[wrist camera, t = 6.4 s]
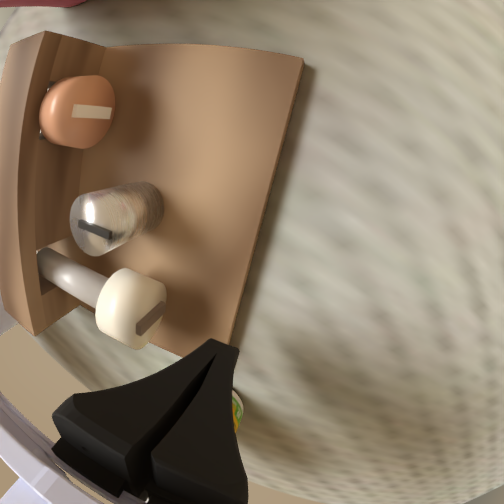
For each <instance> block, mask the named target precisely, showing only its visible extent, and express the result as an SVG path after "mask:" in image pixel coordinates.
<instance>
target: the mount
mask: <svg viewBox="0 0 504 504" xmlns="http://www.w3.org/2000/svg"><path fill="white" fill-rule="evenodd" d="M304 64H305V63H304V59H303V58H300V57H295V56H290V55H285V54H280V53H274V52H268V51H262V50H255V49H247V48H239V47H229V46H217V45H201V44H143V45H127V46H116V47H103V46H100V45H97V44H93V43H90V42H87V41H83V40H80V39H76V38H73V37H69V36H65V35H61V34H57V33H53V32H49V31H43V32H40V33H38V34H35V35H32V36H30V37H27V38H25V39H23V40H20V41H18V42H16V43H13V44H11V45H10V49H9V52H8V55H7V59H6V62H5V66H4V70H3V74H2V78H1V82H0V293H1V297H2V302H3V306H4V310H5V311H6V312H8V313H9V314H10V315H11V316H12V317H13V318H14V319H15V320H16V321H17V322H18V323H20V324H21V325H22V326H23V327H24V328H25V329H26V330H28V331H29V332H30V333H31V334H32V335H33V336H37V335H38V334H39V333H41V332H42V331H43V330H45V329H46V328H48V327H49V326H50V325H52V324H53V323H55V322H56V321H57V320H59V319H60V318H62V317H63V316H64V315H66V314H67V313H69V312H70V311H72V310H73V309H75V308H76V307H77V306H79V305H81V306H83V307H84V308H86V309H88V310H90V311H91V312H93V313H96V309H95V308H93V307H92V306H90V305H88V304H86V303H85V302H83V301H81V300H79V299H78V298H76V297H74V296H73V295H71V294H69V293H68V292H66V291H64V290H63V289H61V288H60V287H58V286H56V285H55V284H53V283H52V282H50V281H49V280H47V279H46V278H44V277H43V276H41V275H40V274H38V265H37V254H36V251H37V250H38V252H39V251H40V250H41V249H42V248H45V247H49V248H51V249H53V250H55V251H57V252H58V253H60V254H62V255H64V256H66V257H68V258H70V259H72V260H73V261H75V262H77V263H79V264H81V265H83V266H85V267H87V268H89V269H91V270H93V271H95V272H97V273H99V274H101V275H103V276H105V277H107V278H110V277H111V276H112V275H113V274H114V273H115V272H117V271H118V270H120V269H123V268H128V269H131V270H133V271H135V272H138V273H140V274H142V275H145V276H147V277H149V278H152V279H154V280H157V281H159V282H161V283H163V284H164V285H165V287H166V292H167V298H166V310H165V313H164V314H163V317H162V320H161V322H160V324H159V327H158V329H157V330H156V332H155V334H154V336H153V337H152V339H151V340H150V341H149V342H150V343H152V344H154V345H156V346H158V347H161V348H163V349H165V350H167V351H169V352H171V353H174V354H176V355H178V356H180V357H185V356H186V355H188V354H190V353H191V352H192V351H194V350H195V349H197V348H198V347H199V346H201V345H202V344H203V343H204V342H206V341H207V340H208V339H210V338H212V339H215V340H217V341H220V342H222V343H225V344H228V345H229V343H230V339H231V336H232V332H233V328H234V325H235V321H236V317H237V314H238V310H239V306H240V303H241V299H242V295H243V291H244V288H245V284H246V280H247V277H248V273H249V269H250V266H251V262H252V258H253V255H254V251H255V247H256V243H257V240H258V236H259V232H260V229H261V225H262V221H263V217H264V214H265V210H266V206H267V203H268V199H269V195H270V191H271V188H272V184H273V180H274V177H275V173H276V169H277V165H278V162H279V158H280V154H281V150H282V147H283V143H284V139H285V136H286V132H287V128H288V124H289V121H290V117H291V113H292V109H293V106H294V102H295V98H296V94H297V91H298V87H299V83H300V79H301V76H302V72H303V68H304ZM90 75H98V76H102V77H104V78H105V79H106V80H108V81H109V83H110V84H111V86H112V88H113V91H114V94H115V112H114V117H113V120H112V123H111V125H110V128H109V130H108V131H107V133H106V134H105V136H104V137H103V138H102V139H101V140H100V141H99V142H98V143H97V144H96V145H94V146H92V147H90V148H86V149H80V148H74V147H68V146H62V145H56V144H53V143H51V142H49V141H48V140H47V139H46V138H45V137H44V135H43V134H42V131H41V133H40V125H39V111H40V106H41V103H42V100H43V98H44V96H45V94H46V93H47V89H48V88H49V89H50V88H51V86H52V85H53V84H55V83H56V82H57V81H59V80H61V79H63V78H67V77H77V76H90ZM140 181H144V182H148V183H150V184H152V185H154V186H155V187H156V188H157V189H158V191H159V192H160V194H161V196H162V199H163V202H164V215H163V218H162V221H161V223H160V224H159V225H158V226H157V227H156V228H155V229H153V230H151V231H149V232H147V233H145V234H143V235H141V236H139V237H137V238H135V239H133V240H130V241H128V242H126V243H124V244H122V245H120V246H118V247H116V248H114V249H112V250H111V251H109V252H107V253H105V254H103V255H100V256H91V255H88V254H87V253H85V252H84V251H83V250H82V249H81V248H80V247H79V246H78V244H77V243H76V241H75V239H74V237H73V235H72V231H71V227H70V211H71V207H72V204H73V203H74V201H75V200H76V198H77V197H79V196H80V195H82V194H86V193H90V192H94V191H99V190H103V189H107V188H111V187H116V186H121V185H125V184H130V183H135V182H140Z"/></svg>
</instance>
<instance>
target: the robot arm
mask: <svg viewBox="0 0 504 504" xmlns="http://www.w3.org/2000/svg"><path fill="white" fill-rule="evenodd" d="M17 324H18V322H17V321H16V320H15V319H14V318H13V317H12V316H11V315H10V314H9V313H8V312H6V311H5V310H4V306H3V302H2V297H1V293H0V336H1V335H2V334H3V333H5V332H6V331H8V330H9V329H11V328H12V327H14V326H15V325H17ZM239 352H240V351H239V349H238V348H236V347H233V346H230V345H228V344H225V343H222V342H220V341H217V340H215V339H212V338H210V339H208V340H207V341H206V342H204V343H203V344H202V345H201V346H199V347H198V348H197V349H195V350H194V351H192V352H191V353H190V354H188V355H186V356H185V357H183V358H182V359H180V360H179V361H177V362H175V363H174V364H172V365H170V366H168V367H167V368H165V369H163V370H161V371H159V372H157V373H155V374H153V375H150V376H148V377H146V378H143V379H141V380H138V381H135V382H132V383H129V384H126V385H123V386H119V387H115V388H110V389H106V390H101V391H95V392H87V393H77V394H73V395H72V396H71V397H69V398H68V399H67V400H65V401H64V402H63V403H62V404H61V405H60V406H59V407H58V409H56V410H55V411H54V413H53V414H52V418H53V421H54V424H55V425H56V427H57V430H58V431H59V433H60V435H61V438H60V439H59V440H58V441H57V443H56V444H55V443H54V442H52V441H51V440H50V439H49V438H47V437H46V436H45V435H44V434H43V433H42V432H41V431H39V430H38V429H37V428H36V427H35V426H34V425H33V424H32V423H31V422H29V421H28V420H27V419H26V418H25V417H24V416H23V415H22V414H21V413H20V412H19V411H18V410H17V409H16V408H15V407H14V406H13V405H12V404H11V403H10V402H9V401H8V399H7V398H6V397H5V396H4V395H3V394H2V393H1V392H0V457H1V458H2V459H3V461H5V463H6V464H7V465H8V466H9V467H10V468H11V469H12V470H13V471H14V472H15V473H16V474H17V475H18V476H19V477H20V478H19V479H18V480H17V481H16V482H15V483H14V484H13V485H12V487H11V488H10V489H9V490H8V491H7V492H6V494H5V495H4V496H3V497H2V498H1V499H0V504H104V503H102V502H100V501H99V500H97V499H96V498H94V497H93V496H91V495H89V494H88V493H86V492H85V491H83V490H82V489H80V488H79V487H78V486H76V485H75V484H73V483H72V482H71V481H70V480H69V478H68V477H67V476H66V474H65V472H64V471H63V470H65V471H66V472H67V473H69V474H70V475H71V476H73V477H74V478H75V479H77V480H78V481H80V482H81V483H82V484H84V485H85V486H87V487H88V488H90V489H91V490H93V491H94V492H96V493H98V494H99V495H101V496H102V497H104V498H106V499H107V500H109V501H110V502H112V503H114V504H248V480H247V475H246V473H245V470H244V467H243V463H242V460H241V456H240V453H239V449H238V444H237V439H236V434H235V428H234V420H233V407H232V386H233V374H234V368H235V365H236V361H237V358H238V355H239ZM49 458H50V459H49ZM55 463H56V464H57V465H58V466H60V467H61V468H62V469H63V470H61V469H60V468H59V467H58V466H57V465H56V464H55ZM147 498H149V500H148V502H145V501H147Z"/></svg>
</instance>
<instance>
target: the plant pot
mask: <svg viewBox="0 0 504 504" xmlns="http://www.w3.org/2000/svg"><path fill="white" fill-rule="evenodd" d="M85 1H86V0H0V7H20V6H48V7H72V6H75V5H78V4H80V3H83V2H85Z"/></svg>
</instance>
